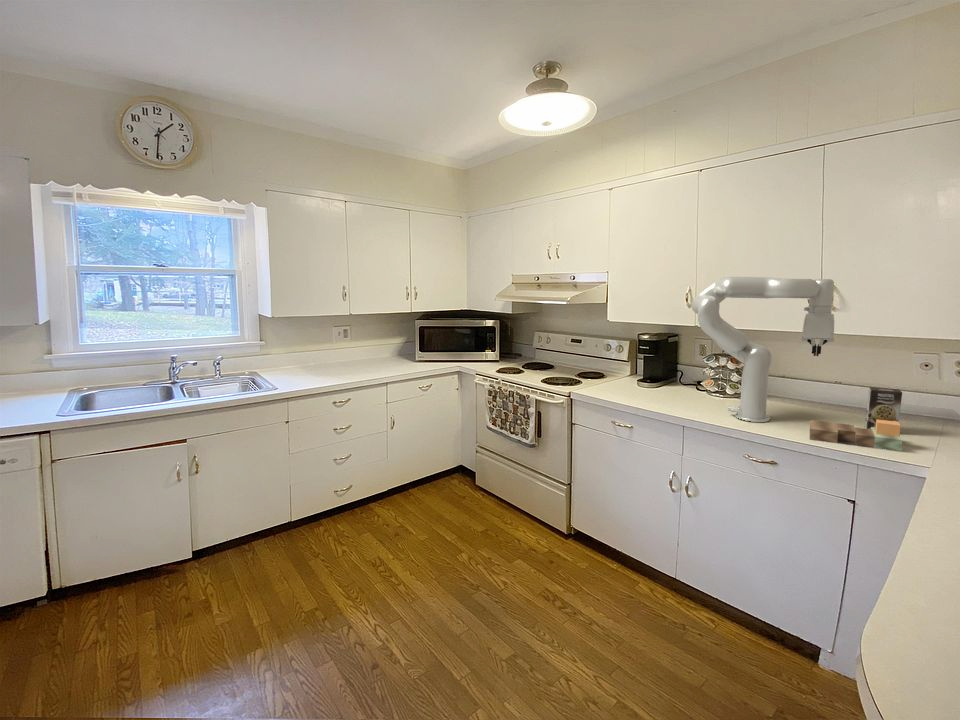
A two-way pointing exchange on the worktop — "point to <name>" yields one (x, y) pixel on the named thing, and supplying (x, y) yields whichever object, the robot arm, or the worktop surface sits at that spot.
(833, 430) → the board
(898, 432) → the orange block
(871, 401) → the coffee box
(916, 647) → the worktop surface
